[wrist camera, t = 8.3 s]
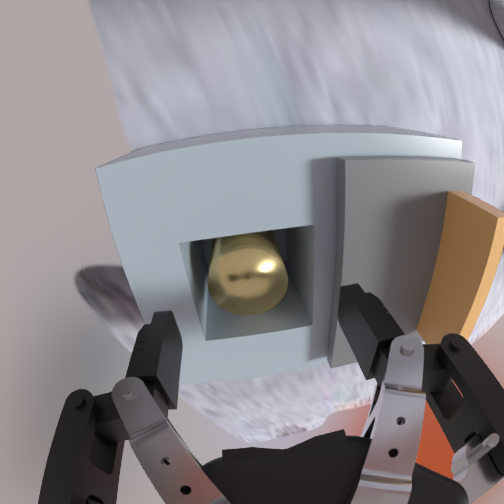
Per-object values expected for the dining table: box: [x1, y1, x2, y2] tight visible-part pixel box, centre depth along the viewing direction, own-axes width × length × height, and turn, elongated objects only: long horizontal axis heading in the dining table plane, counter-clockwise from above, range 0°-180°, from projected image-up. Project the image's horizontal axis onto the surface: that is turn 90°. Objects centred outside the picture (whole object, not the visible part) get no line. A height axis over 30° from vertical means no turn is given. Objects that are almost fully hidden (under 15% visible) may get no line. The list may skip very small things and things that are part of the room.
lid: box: [327, 156, 504, 368], centre depth 11 cm, size 8×12×4 cm, turn 6°
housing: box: [95, 125, 462, 385], centre depth 17 cm, size 18×14×8 cm
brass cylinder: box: [208, 230, 288, 315], centre depth 17 cm, size 4×4×6 cm
